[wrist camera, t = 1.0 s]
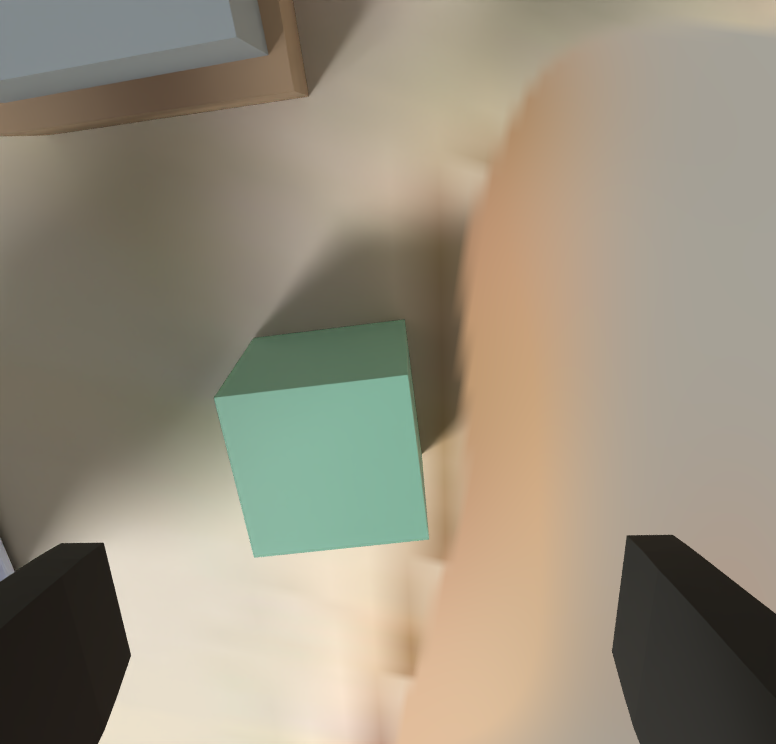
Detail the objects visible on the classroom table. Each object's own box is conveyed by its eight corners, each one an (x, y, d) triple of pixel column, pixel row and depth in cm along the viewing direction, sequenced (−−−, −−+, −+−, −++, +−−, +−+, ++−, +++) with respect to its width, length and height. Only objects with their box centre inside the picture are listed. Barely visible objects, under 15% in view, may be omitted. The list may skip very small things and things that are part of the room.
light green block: (283, 468, 20) (254, 557, 16) (254, 337, 19) (213, 397, 14) (421, 453, 20) (429, 539, 16) (404, 318, 18) (407, 375, 14)
